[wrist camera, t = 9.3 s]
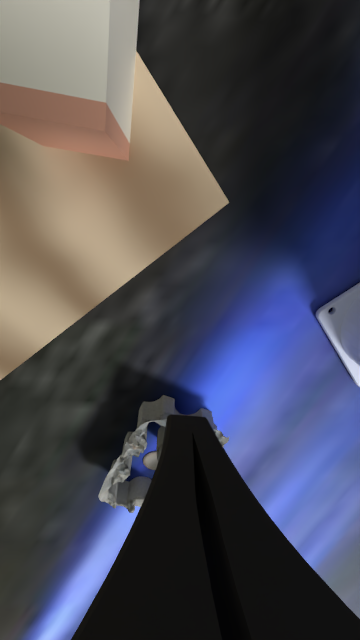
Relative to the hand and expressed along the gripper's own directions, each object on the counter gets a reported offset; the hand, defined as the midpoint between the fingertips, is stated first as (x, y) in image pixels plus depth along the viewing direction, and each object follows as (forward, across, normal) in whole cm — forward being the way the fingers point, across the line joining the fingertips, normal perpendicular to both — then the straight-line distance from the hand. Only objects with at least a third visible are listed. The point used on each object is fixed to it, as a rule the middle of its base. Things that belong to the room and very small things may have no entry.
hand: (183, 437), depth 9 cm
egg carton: (+11, 0, +12) cm, 16 cm away
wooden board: (+10, +10, -6) cm, 16 cm away
